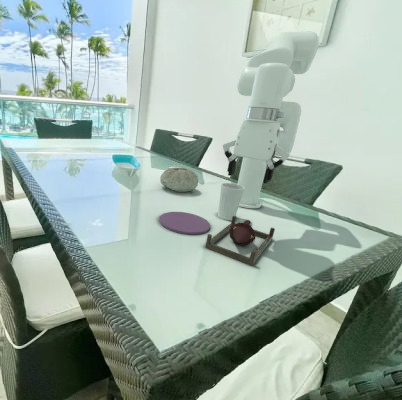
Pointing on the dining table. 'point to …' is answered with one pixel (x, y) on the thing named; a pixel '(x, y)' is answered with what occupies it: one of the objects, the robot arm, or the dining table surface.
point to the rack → (235, 255)
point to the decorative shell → (179, 179)
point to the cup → (229, 200)
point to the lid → (184, 223)
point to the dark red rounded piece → (242, 233)
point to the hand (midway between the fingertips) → (247, 178)
